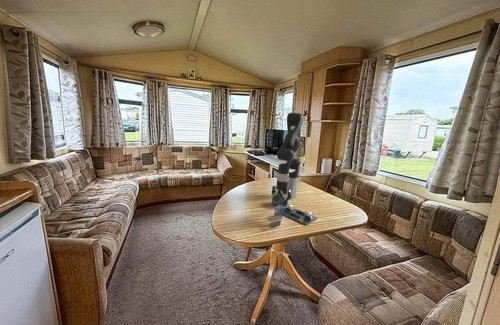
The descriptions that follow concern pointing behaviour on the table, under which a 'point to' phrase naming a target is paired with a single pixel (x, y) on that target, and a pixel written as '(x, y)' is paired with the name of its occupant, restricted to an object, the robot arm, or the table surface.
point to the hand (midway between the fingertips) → (280, 203)
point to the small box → (278, 200)
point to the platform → (275, 221)
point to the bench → (298, 215)
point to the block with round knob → (279, 211)
